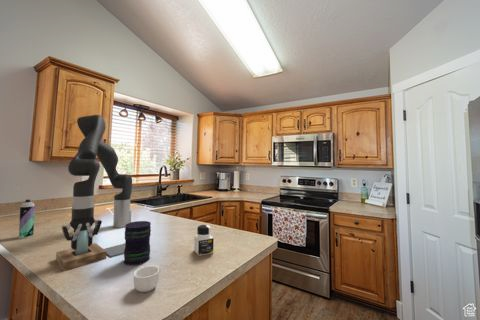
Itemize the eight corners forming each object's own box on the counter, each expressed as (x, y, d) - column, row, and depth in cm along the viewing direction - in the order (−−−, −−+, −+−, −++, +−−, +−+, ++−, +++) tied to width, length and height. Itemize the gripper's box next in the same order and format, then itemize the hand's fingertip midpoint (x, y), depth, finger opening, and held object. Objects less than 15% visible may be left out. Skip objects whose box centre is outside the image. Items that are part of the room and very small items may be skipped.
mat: (126, 244, 105) (126, 242, 105) (136, 250, 98) (136, 248, 98) (101, 250, 97) (101, 249, 97) (110, 257, 90) (110, 256, 90)
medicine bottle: (198, 256, 92) (198, 228, 93) (193, 250, 99) (194, 224, 99) (213, 253, 96) (214, 226, 96) (208, 247, 102) (208, 223, 102)
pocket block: (95, 249, 98) (95, 243, 98) (106, 258, 89) (106, 251, 89) (55, 259, 87) (56, 252, 87) (63, 270, 78) (64, 262, 78)
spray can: (16, 237, 111) (18, 199, 112) (30, 234, 116) (31, 198, 117) (22, 239, 109) (23, 200, 110) (35, 236, 114) (37, 199, 115)
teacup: (146, 298, 63) (146, 279, 63) (127, 292, 66) (127, 274, 66) (168, 281, 72) (169, 265, 73) (151, 276, 75) (151, 261, 75)
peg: (86, 255, 91) (87, 227, 91) (89, 258, 88) (90, 229, 89) (73, 259, 88) (74, 230, 88) (76, 262, 85) (77, 232, 85)
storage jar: (132, 268, 81) (133, 229, 81) (118, 261, 86) (119, 224, 87) (155, 258, 89) (156, 223, 90) (141, 253, 95) (142, 219, 95)
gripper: (99, 203, 96) (98, 240, 96) (59, 207, 85) (57, 250, 85) (105, 205, 92) (104, 245, 91) (63, 210, 81) (61, 255, 80)
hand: (81, 247), depth 88 cm, fingers closed on peg, 4 cm apart
